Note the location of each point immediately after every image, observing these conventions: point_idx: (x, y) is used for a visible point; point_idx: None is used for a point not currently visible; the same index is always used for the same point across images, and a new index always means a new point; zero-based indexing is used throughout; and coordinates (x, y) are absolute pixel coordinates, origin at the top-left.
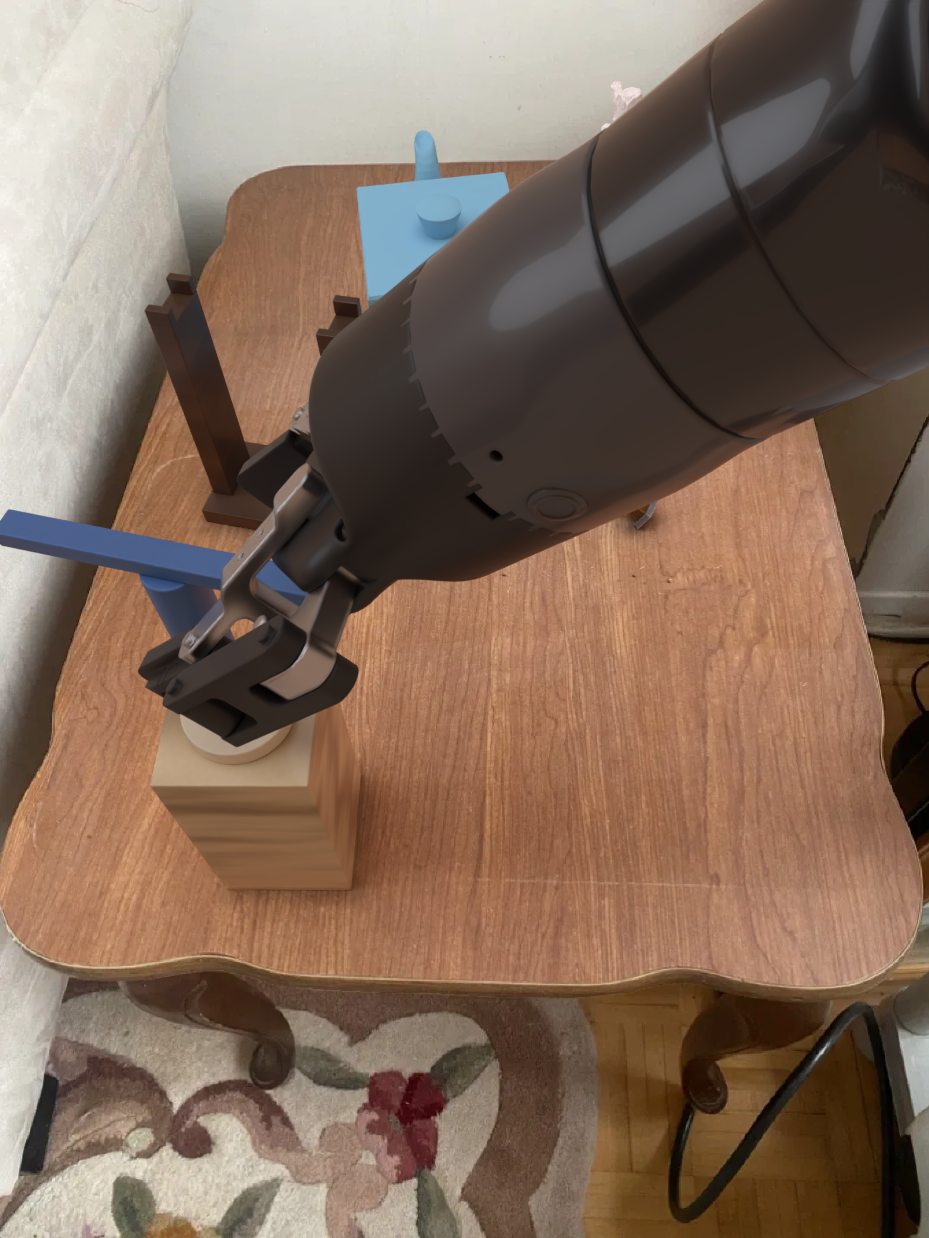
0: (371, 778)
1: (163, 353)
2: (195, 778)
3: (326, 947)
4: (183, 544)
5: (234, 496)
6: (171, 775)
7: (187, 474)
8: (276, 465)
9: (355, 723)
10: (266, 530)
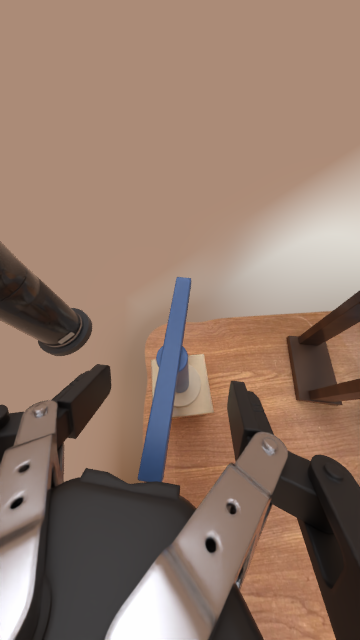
0: (204, 419)
1: (343, 304)
2: (154, 374)
3: (149, 414)
4: (177, 363)
5: (299, 344)
6: (155, 365)
7: (303, 326)
8: (236, 414)
9: (223, 408)
10: (5, 518)
